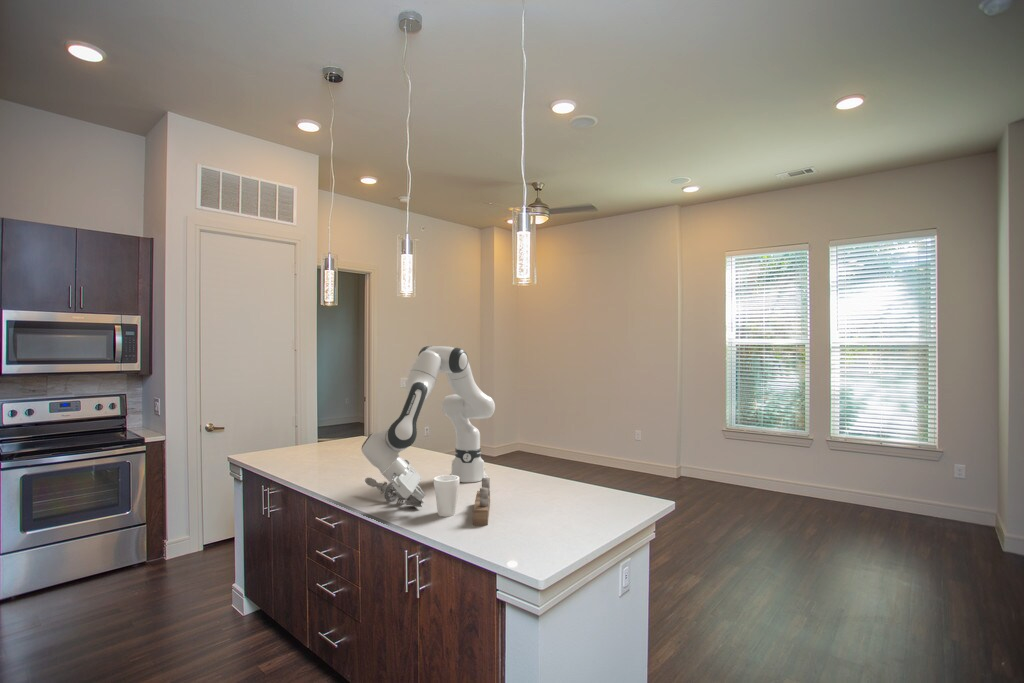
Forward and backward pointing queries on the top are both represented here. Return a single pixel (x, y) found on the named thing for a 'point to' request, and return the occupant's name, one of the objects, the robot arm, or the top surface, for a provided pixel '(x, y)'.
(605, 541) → the top surface
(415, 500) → the spaceship
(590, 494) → the top surface
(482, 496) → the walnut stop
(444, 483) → the foam cup
